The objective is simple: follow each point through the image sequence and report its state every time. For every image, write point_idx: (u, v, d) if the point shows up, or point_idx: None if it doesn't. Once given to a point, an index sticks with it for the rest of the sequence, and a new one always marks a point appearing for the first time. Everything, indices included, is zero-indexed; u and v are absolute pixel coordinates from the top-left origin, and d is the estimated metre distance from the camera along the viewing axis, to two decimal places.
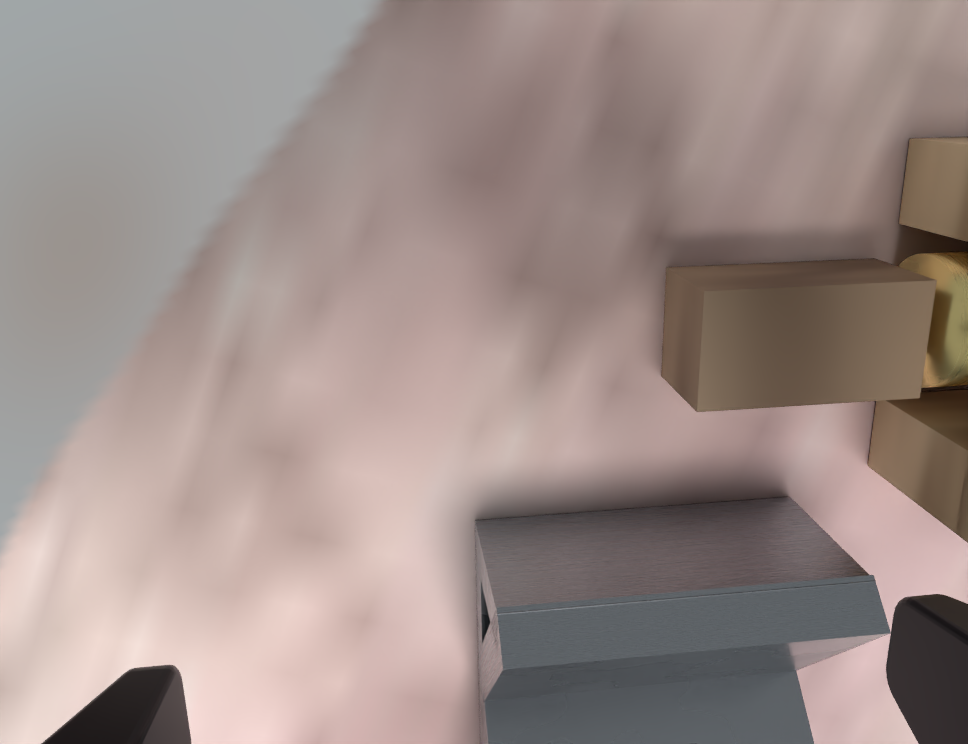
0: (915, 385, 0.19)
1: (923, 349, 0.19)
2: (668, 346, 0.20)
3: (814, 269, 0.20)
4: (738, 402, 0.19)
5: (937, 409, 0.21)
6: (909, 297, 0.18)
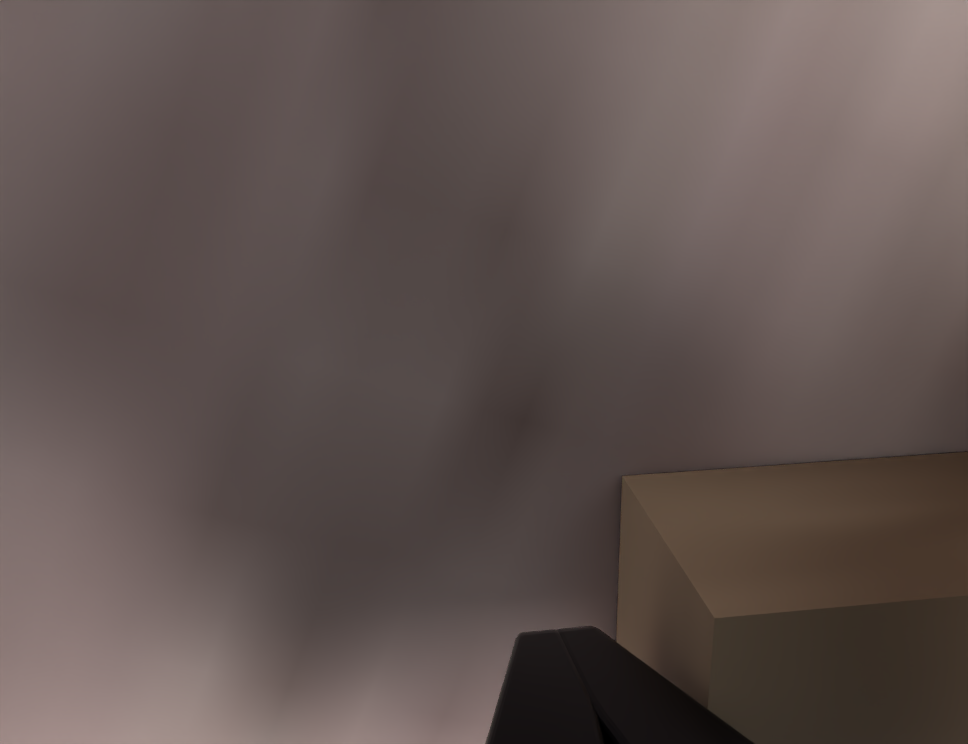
0: None
1: None
2: (630, 651, 0.09)
3: (961, 500, 0.09)
4: None
5: None
6: None
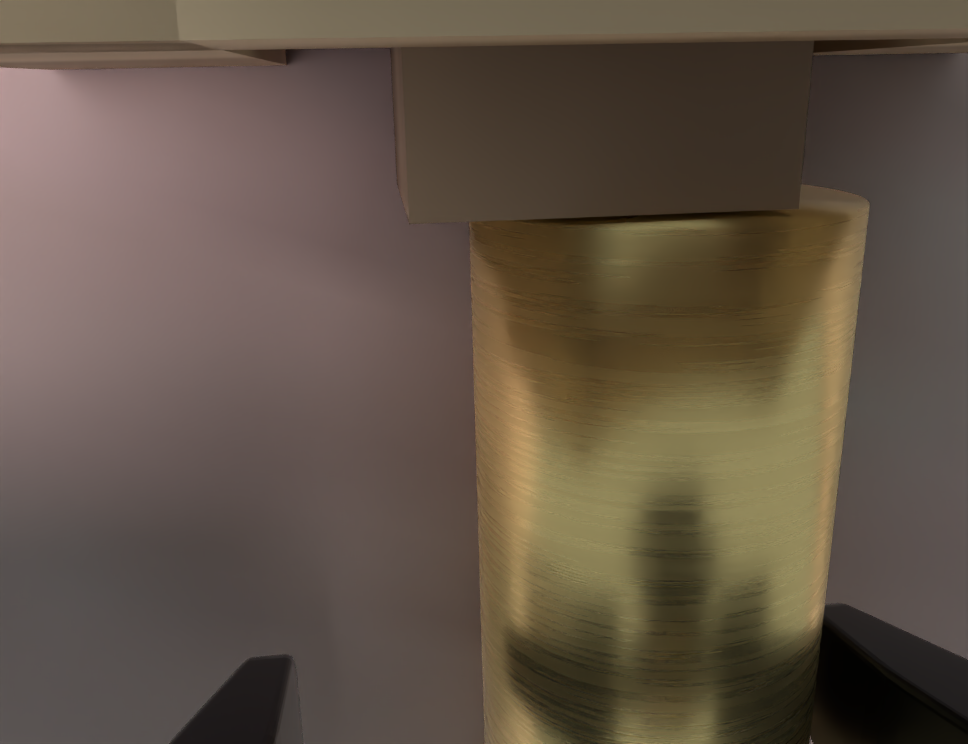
0: (453, 201, 0.06)
1: (582, 203, 0.06)
2: None
3: None
4: None
5: None
6: (756, 124, 0.06)
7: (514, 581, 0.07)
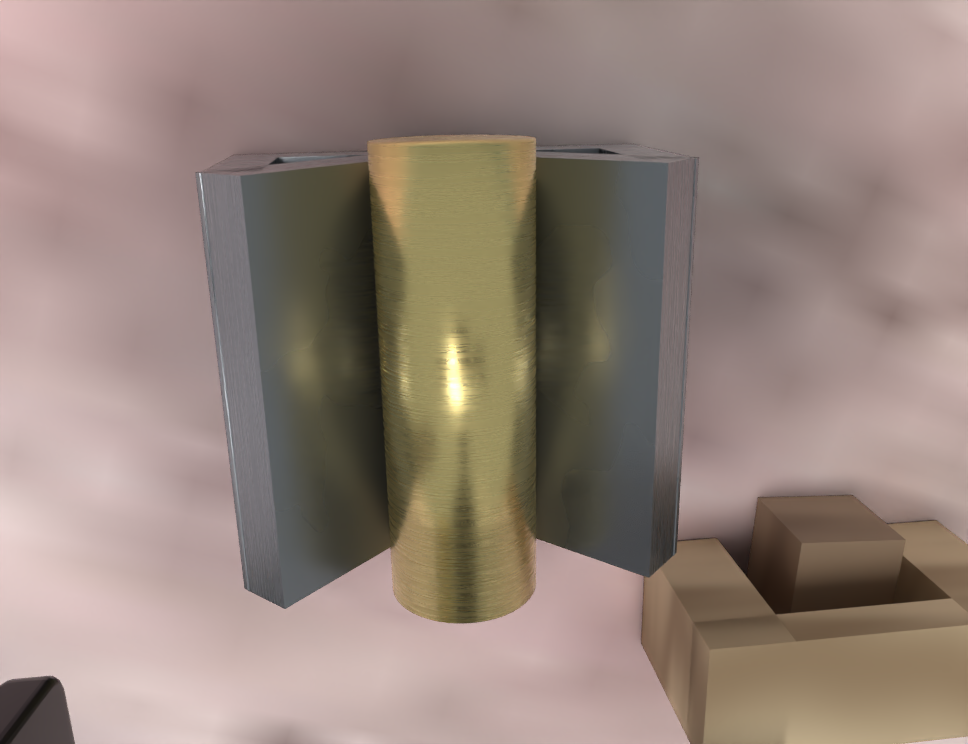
0: None
1: None
2: (796, 503, 0.22)
3: None
4: (802, 576, 0.21)
5: None
6: None
7: (376, 297, 0.17)
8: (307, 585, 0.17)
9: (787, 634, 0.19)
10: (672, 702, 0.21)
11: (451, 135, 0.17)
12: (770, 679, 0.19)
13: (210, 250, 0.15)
